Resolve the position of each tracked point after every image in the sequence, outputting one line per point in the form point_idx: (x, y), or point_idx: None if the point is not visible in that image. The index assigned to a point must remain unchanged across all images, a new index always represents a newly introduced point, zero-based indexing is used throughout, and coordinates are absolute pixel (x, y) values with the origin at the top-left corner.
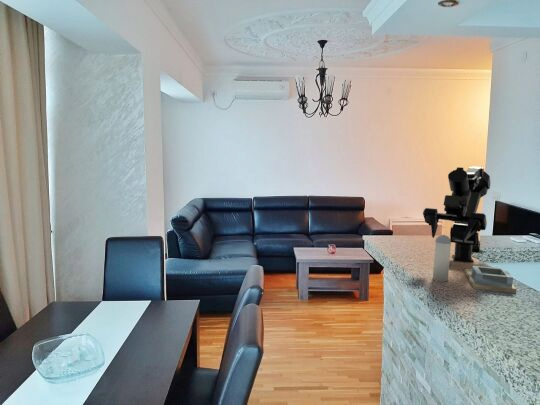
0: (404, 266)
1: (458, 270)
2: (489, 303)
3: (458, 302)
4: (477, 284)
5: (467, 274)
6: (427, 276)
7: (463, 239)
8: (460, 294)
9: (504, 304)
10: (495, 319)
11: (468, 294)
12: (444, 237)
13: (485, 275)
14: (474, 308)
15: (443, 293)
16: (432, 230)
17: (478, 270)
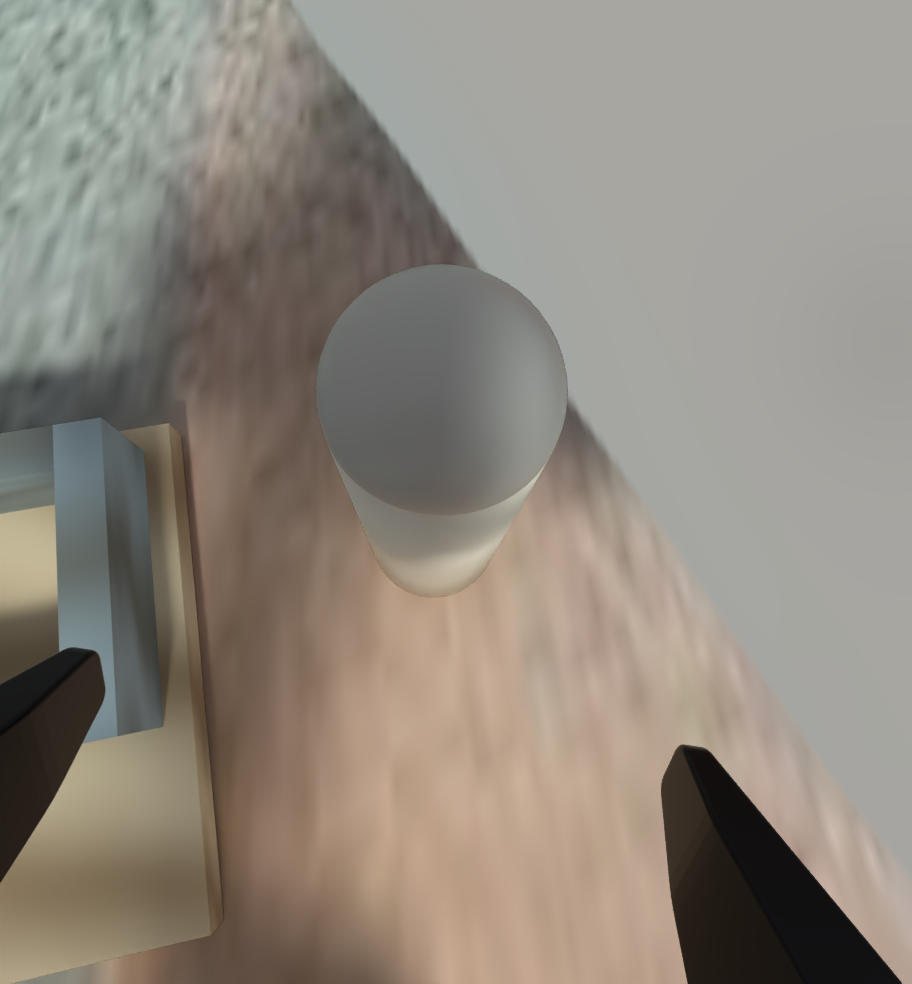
0: (807, 792)
1: (290, 977)
2: (107, 196)
3: (288, 134)
4: (138, 440)
5: (201, 763)
6: (543, 568)
7: (69, 654)
8: (276, 269)
9: (15, 220)
10: (111, 2)
11: (224, 293)
12: (417, 271)
13: (30, 430)
14: (203, 89)
15: (382, 237)
16: (782, 858)
17: (72, 554)
